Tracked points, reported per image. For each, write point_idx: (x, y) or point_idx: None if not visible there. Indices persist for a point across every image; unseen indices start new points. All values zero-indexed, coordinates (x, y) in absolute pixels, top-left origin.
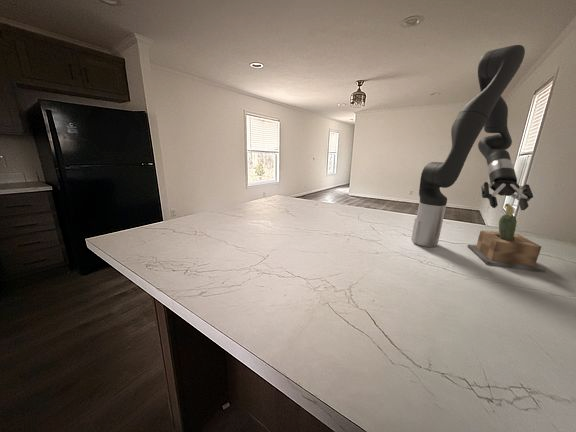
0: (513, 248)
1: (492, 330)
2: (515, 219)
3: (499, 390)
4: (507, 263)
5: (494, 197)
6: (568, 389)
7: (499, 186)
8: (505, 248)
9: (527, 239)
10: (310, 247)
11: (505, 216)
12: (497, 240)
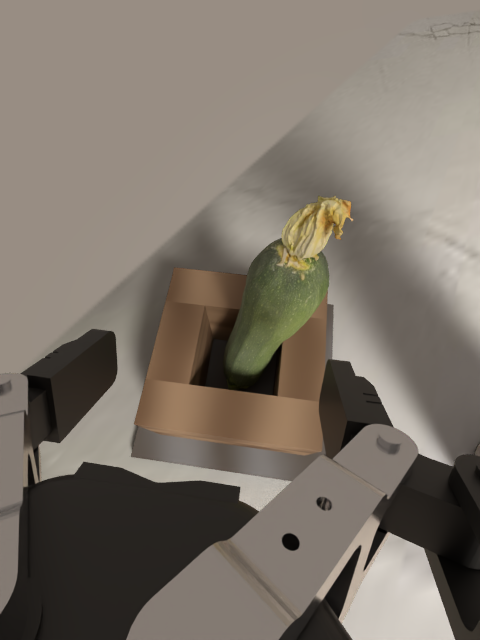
0: None
1: (433, 90)
2: (268, 245)
3: (459, 31)
4: None
5: (367, 415)
6: (391, 42)
7: (308, 601)
8: None
9: (158, 345)
10: None
11: (320, 251)
12: None
